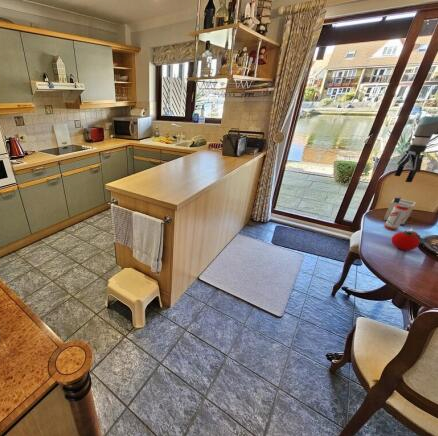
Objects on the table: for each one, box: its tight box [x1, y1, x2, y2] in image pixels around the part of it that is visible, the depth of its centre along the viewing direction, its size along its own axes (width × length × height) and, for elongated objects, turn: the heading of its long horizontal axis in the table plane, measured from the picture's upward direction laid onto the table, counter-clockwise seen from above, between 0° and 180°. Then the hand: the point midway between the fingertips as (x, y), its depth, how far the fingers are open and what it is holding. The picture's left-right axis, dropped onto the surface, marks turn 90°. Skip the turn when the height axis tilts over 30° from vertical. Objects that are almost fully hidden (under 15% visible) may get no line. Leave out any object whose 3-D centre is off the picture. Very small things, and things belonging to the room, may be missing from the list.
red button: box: [407, 230, 419, 236], centre depth 138 cm, size 4×4×2 cm
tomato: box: [390, 229, 419, 251], centre depth 131 cm, size 10×10×10 cm
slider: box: [393, 196, 402, 203], centre depth 157 cm, size 2×2×3 cm
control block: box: [417, 234, 424, 247], centre depth 139 cm, size 10×8×4 cm
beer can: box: [384, 204, 408, 231], centre depth 149 cm, size 6×6×16 cm
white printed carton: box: [382, 198, 417, 226], centre depth 161 cm, size 10×12×13 cm
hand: (402, 178), depth 155 cm, fingers open, 13 cm apart
